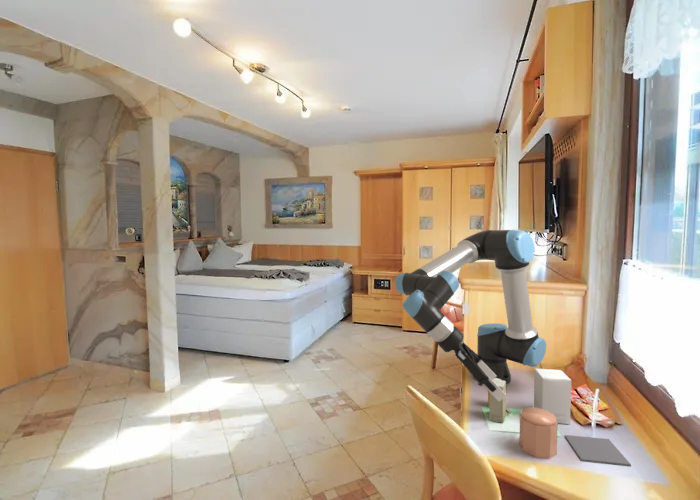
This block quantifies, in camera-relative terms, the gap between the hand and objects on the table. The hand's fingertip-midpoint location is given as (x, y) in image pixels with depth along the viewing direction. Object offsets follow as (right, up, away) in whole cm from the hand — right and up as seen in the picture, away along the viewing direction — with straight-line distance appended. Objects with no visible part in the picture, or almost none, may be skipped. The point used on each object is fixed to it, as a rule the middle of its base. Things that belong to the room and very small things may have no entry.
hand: (497, 387), depth 107 cm
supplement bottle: (+9, -16, +24) cm, 30 cm away
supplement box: (+25, -16, +17) cm, 34 cm away
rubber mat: (+27, -17, -2) cm, 32 cm away
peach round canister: (+11, -17, -1) cm, 21 cm away
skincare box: (+7, -17, +16) cm, 24 cm away
